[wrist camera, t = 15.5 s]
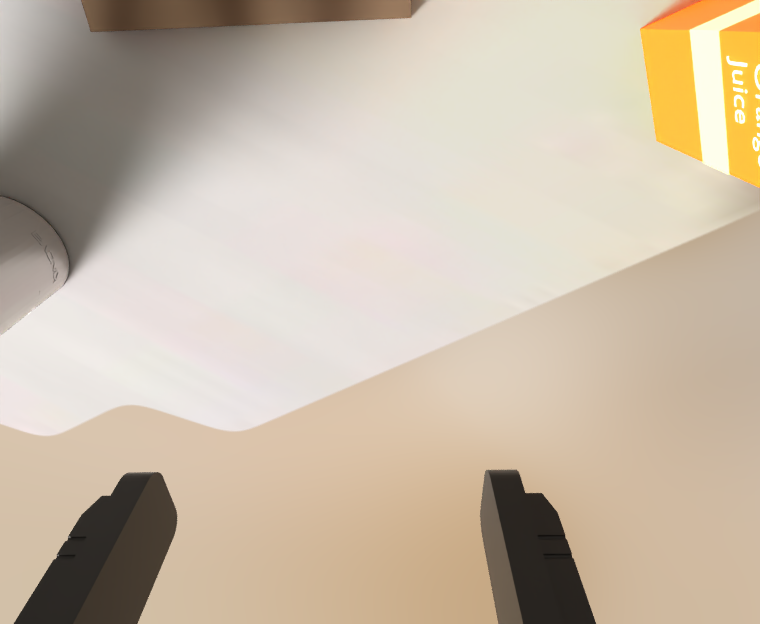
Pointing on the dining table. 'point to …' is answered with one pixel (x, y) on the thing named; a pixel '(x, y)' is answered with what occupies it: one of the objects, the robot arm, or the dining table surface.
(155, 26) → the socket fitting
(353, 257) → the dining table surface
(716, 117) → the orange juice
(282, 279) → the dining table surface
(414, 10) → the dining table surface
